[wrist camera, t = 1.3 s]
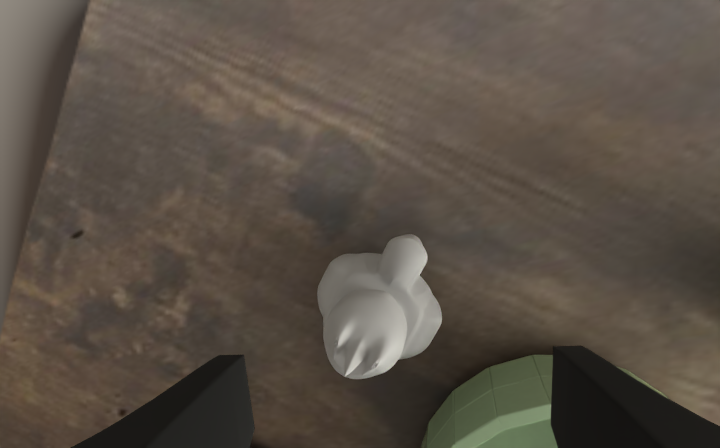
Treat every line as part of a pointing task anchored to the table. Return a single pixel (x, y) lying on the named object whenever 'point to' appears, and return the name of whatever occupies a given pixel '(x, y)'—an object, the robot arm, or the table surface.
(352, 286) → the white rounded lump
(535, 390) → the bowl
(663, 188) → the table surface
